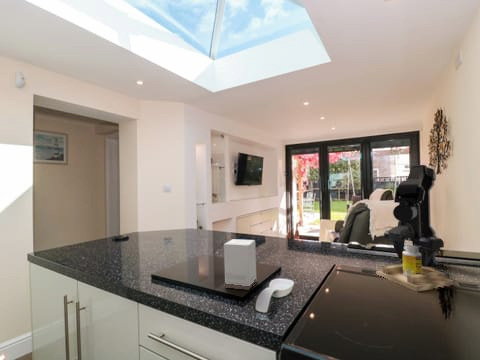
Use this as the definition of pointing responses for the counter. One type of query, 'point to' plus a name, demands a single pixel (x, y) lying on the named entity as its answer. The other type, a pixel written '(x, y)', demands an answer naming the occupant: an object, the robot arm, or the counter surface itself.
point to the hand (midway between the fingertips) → (412, 262)
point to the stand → (415, 278)
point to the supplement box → (240, 262)
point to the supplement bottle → (411, 261)
